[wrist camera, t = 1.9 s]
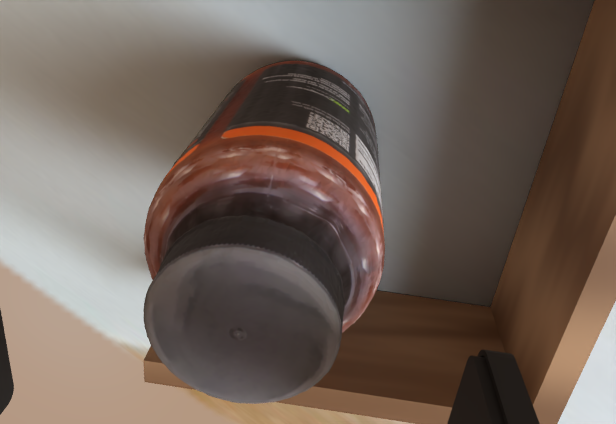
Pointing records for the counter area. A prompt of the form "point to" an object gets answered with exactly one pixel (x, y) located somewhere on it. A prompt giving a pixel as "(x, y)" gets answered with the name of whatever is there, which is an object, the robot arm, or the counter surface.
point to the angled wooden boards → (502, 279)
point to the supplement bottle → (266, 236)
